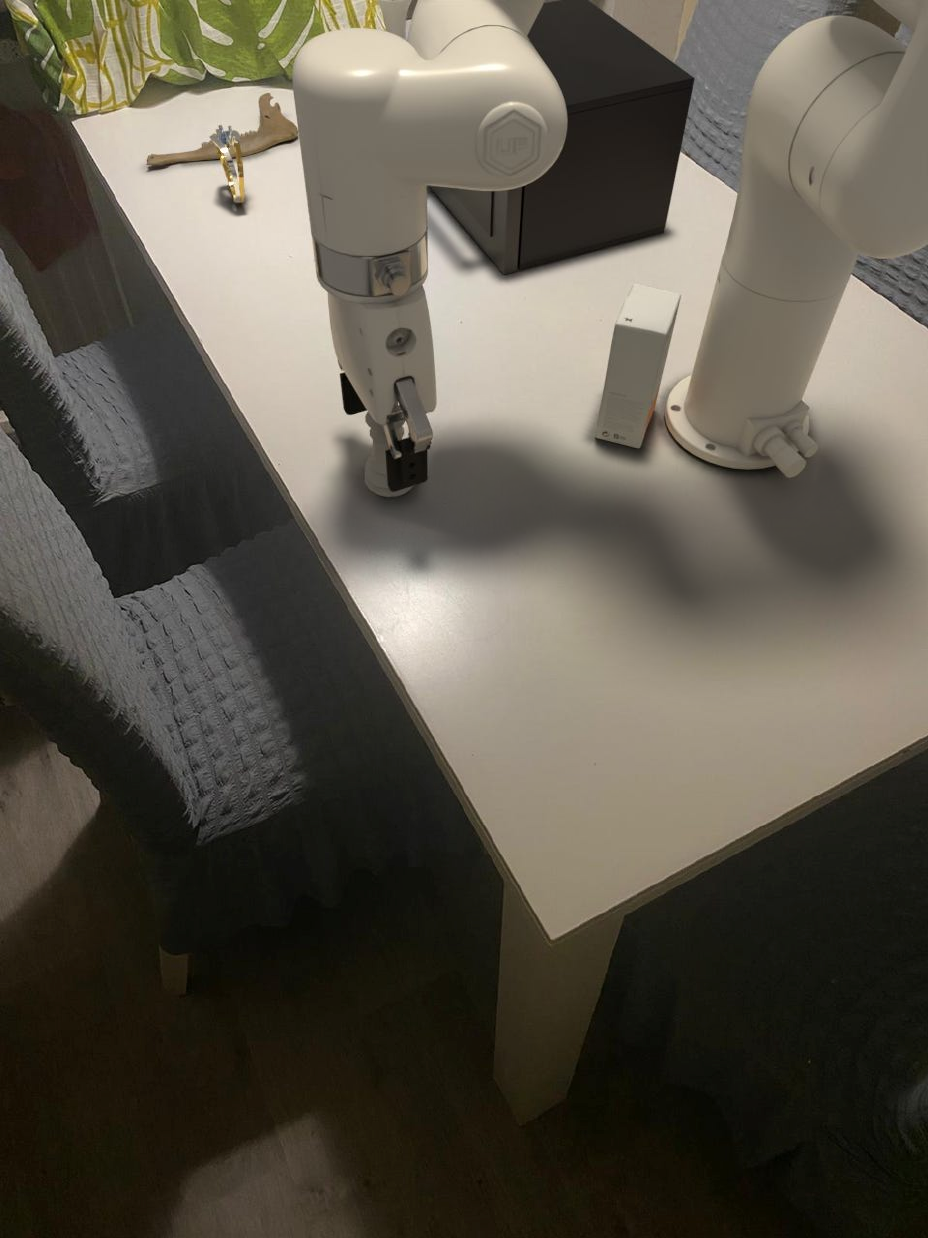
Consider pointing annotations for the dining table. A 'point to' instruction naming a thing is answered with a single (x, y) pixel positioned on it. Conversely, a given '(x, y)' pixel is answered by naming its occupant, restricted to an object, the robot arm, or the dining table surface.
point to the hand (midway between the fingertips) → (384, 445)
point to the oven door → (488, 220)
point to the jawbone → (241, 137)
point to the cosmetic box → (636, 364)
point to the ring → (230, 160)
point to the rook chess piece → (381, 456)
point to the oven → (603, 137)
